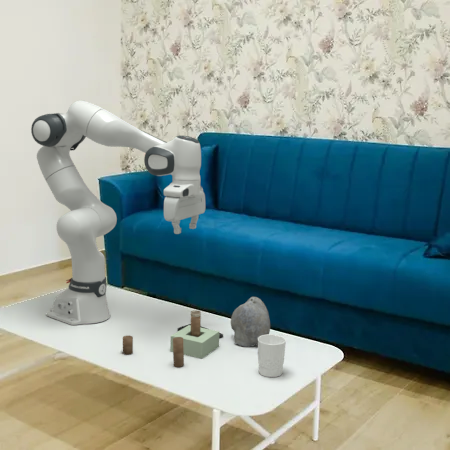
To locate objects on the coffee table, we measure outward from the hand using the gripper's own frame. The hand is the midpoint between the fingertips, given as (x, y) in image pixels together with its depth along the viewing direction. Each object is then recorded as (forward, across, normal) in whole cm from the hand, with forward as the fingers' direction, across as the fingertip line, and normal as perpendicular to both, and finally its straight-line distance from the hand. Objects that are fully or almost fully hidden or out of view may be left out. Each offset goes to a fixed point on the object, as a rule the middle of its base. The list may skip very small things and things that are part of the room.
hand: (185, 231), depth 200 cm
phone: (+35, -2, +5) cm, 35 cm away
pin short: (+35, +23, -6) cm, 42 cm away
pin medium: (+34, +23, +12) cm, 43 cm away
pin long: (+34, +10, +10) cm, 37 cm away
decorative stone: (+34, -4, +22) cm, 41 cm away
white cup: (+34, +14, +37) cm, 52 cm away
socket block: (+34, +10, +10) cm, 37 cm away
